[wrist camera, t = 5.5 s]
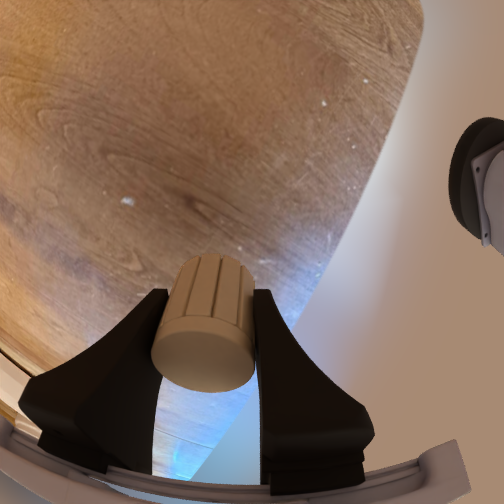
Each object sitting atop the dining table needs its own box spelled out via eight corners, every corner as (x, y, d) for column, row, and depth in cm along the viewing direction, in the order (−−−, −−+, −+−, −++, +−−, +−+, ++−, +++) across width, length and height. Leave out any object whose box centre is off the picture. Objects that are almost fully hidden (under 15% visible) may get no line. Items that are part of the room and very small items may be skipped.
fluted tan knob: (269, 298, 13) (274, 378, 9) (206, 325, 14) (194, 400, 10) (226, 238, 12) (213, 314, 8) (161, 275, 13) (129, 349, 9)
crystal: (69, 418, 31) (-43, 328, 23) (58, 440, 31) (-48, 357, 22) (77, 394, 38) (-24, 315, 30) (65, 416, 37) (-31, 342, 29)
